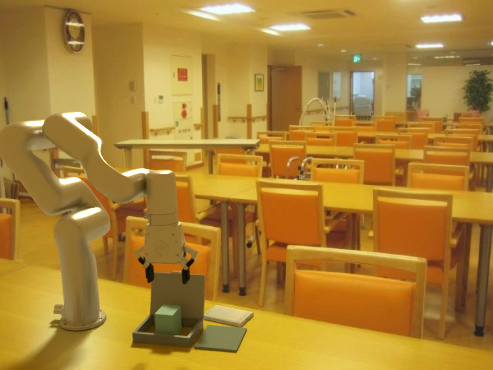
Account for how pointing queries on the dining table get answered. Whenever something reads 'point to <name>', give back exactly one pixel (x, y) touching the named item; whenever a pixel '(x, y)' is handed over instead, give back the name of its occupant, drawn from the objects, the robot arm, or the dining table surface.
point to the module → (168, 320)
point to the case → (167, 339)
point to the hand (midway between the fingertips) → (168, 281)
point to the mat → (221, 338)
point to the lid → (178, 293)
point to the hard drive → (228, 315)
